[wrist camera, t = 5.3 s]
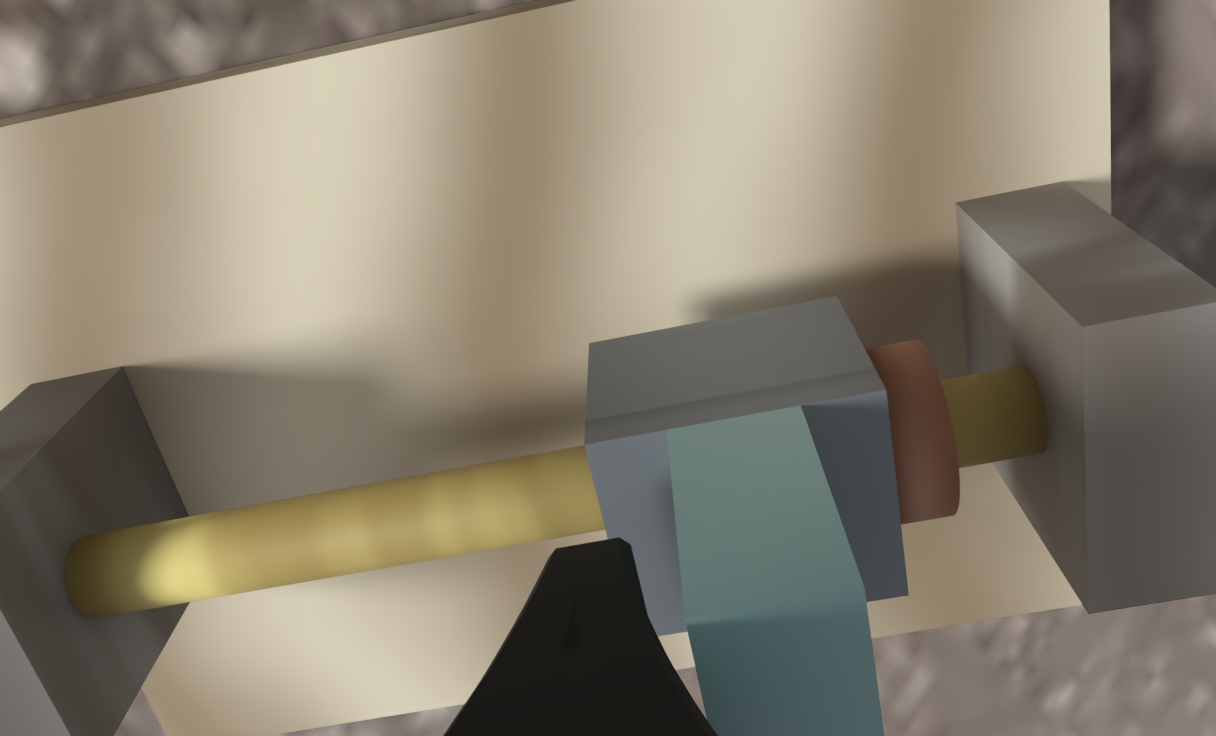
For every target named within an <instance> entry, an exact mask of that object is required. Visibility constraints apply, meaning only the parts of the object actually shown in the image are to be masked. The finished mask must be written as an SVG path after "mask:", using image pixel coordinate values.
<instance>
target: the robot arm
mask: <svg viewBox="0 0 1216 736" xmlns="http://www.w3.org/2000/svg"><path fill="white" fill-rule="evenodd" d="M443 736H718V735H717V734H716V732H715V731H714V730H713V728H712V727H711V725H710V724H709V723H708V721H707V720H706V718H705V717H704V715H703V714H702V712H701V711H700V709H699V708H698V706H697V705H696V703H695V702H694V700H693V698H692V697H691V695H690V693H689V692H688V690H687V689H686V687H685V685H684V684H683V682H682V680H681V679H680V677H679V675H678V674H677V672H676V670H675V668H674V667H673V665H672V663H671V661H670V659H669V658H668V656H667V654H666V652H665V650H664V648H663V646H662V644H661V642H660V640H659V638H658V636H657V634H656V632H655V630H654V628H653V626H652V624H651V622H650V619H649V617H648V614H647V610H646V606H645V601H644V597H643V593H642V589H641V585H640V581H639V577H638V572H637V568H636V564H635V560H634V556H633V552H632V547H631V544H629V543H628V542H626V541H624V540H623V539H621V538H620V537H618V538H612V539H607V540H601V541H595V542H589V543H584V544H578V545H572V546H566V547H561V548H556V549H555V550H554V551H553V553H552V554H551V555H550V557H549V558H548V560H547V562H546V564H545V566H544V568H543V570H542V572H541V574H540V576H539V578H538V580H537V582H536V584H535V586H534V588H533V589H532V591H531V593H530V595H529V597H528V599H527V601H526V603H525V605H524V607H523V608H522V610H521V612H520V614H519V616H518V618H517V619H516V621H515V623H514V625H513V627H512V629H511V630H510V632H509V634H508V635H507V637H506V639H505V640H504V642H503V644H502V646H501V647H500V649H499V651H498V652H497V654H496V656H495V657H494V659H493V661H492V662H491V664H490V666H489V668H488V669H487V671H486V673H485V674H484V676H483V677H482V679H481V681H480V682H479V684H478V685H477V687H476V688H475V690H474V691H473V693H472V694H471V696H470V697H469V699H468V700H467V702H466V703H465V705H464V706H463V707H462V709H461V710H460V712H459V713H458V715H457V716H456V718H455V719H454V721H453V722H452V724H451V725H450V727H449V728H448V730H447V731H446V733H445V734H444V735H443Z"/></svg>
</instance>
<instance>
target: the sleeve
mask: <svg viewBox="0 0 1216 736" xmlns="http://www.w3.org/2000/svg"><path fill="white" fill-rule="evenodd" d="M584 446H585V450H586V454H587V458H588V462H589V466H590V470H591V474H592V478H593V482H594V486H595V490H596V494H597V498H598V502H599V506H600V510H601V514H602V518H603V522H604V526H605V530H606V534H607V538H608V539H612V538H618V537H620V538H621V539H623V540H624V541H626V542H628V543H629V544H631V547H632V552H633V556H634V560H635V564H636V568H637V572H638V577H639V581H640V585H641V589H642V593H643V597H644V601H645V606H646V610H647V614H648V617H649V619H650V622H651V624H652V626H653V628H654V630H655V632H656V634H657V636H664V635H670V634H676V633H682V632H688V636H689V640H690V645H691V649H692V654H693V658H694V663H695V667H696V672H697V676H698V681H699V685H700V690H701V694H702V699H703V703H704V708H705V712H706V717H707V721H708V723H709V724H710V725H711V727H712V728H713V730H714V731H715V732H716V734H717V735H718V736H884V731H883V724H882V716H881V708H880V701H879V693H878V686H877V678H876V670H875V663H874V655H873V647H872V640H871V632H870V624H869V617H868V609H867V602H871V601H878V600H884V599H890V598H896V597H902V596H908V595H909V592H908V583H907V574H906V565H905V556H904V547H903V538H902V529H901V519H900V510H899V501H898V492H897V483H896V474H895V465H894V456H893V447H892V437H891V428H890V419H889V410H888V401H887V392H886V388H885V387H884V385H883V383H882V381H881V379H880V377H879V375H878V373H877V371H876V369H875V367H874V365H873V364H872V362H871V360H870V358H869V356H868V354H867V352H866V350H865V348H864V346H863V344H862V343H861V341H860V339H859V337H858V335H857V333H856V331H855V329H854V327H853V325H852V323H851V322H850V320H849V318H848V316H847V314H846V312H845V310H844V308H843V306H842V304H841V302H840V301H839V299H838V297H837V296H834V297H829V298H823V299H818V300H813V301H808V302H802V303H797V304H792V305H787V306H781V307H776V308H771V309H766V310H760V311H755V312H750V313H745V314H739V315H734V316H729V317H724V318H718V319H713V320H708V321H703V322H697V323H692V324H687V325H682V326H676V327H671V328H666V329H661V330H655V331H650V332H645V333H640V334H634V335H629V336H624V337H619V338H613V339H608V340H603V341H598V342H592V343H589V355H588V376H587V396H586V417H585V437H584Z"/></svg>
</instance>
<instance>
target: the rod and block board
mask: <svg viewBox="0 0 1216 736" xmlns="http://www.w3.org/2000/svg"><path fill="white" fill-rule="evenodd" d="M834 296H837V297H838V299H839V301H840V302H841V304H842V306H843V308H844V310H845V312H846V314H847V316H848V318H849V320H850V322H851V323H852V325H853V327H854V329H855V331H856V333H857V335H858V337H859V339H860V341H861V343H862V344H863V346H864V348H865V350H866V352H867V354H868V356H869V358H870V360H871V362H872V364H873V365H874V367H875V369H876V371H877V373H878V375H879V377H880V379H881V381H882V383H883V385H884V387H885V388H886V392H887V401H888V410H889V419H890V428H891V437H892V447H893V456H894V465H895V474H896V483H897V492H898V501H899V510H900V519H901V529H902V538H903V547H904V556H905V565H906V574H907V583H908V592H909V595H908V596H902V597H896V598H890V599H884V600H878V601H871V602H867V609H868V617H869V624H870V632H871V638H878V637H884V636H890V635H896V634H902V633H909V632H915V631H921V630H927V629H934V628H940V627H946V626H952V625H958V624H965V623H971V622H977V621H983V620H989V619H996V618H1002V617H1008V616H1014V615H1021V614H1027V613H1033V612H1039V611H1045V610H1052V609H1058V608H1064V607H1070V606H1077V605H1083V606H1084V608H1085V609H1086V611H1087V612H1088V614H1091V613H1098V612H1104V611H1110V610H1116V609H1123V608H1129V607H1135V606H1141V605H1148V604H1154V603H1160V602H1166V601H1173V600H1179V599H1185V598H1191V597H1198V596H1204V595H1210V594H1216V288H1215V287H1214V286H1212V285H1211V284H1209V283H1208V282H1207V281H1205V280H1204V279H1202V278H1201V277H1199V276H1198V275H1197V274H1195V273H1194V272H1192V271H1191V270H1189V269H1188V268H1187V267H1185V266H1184V265H1182V264H1181V263H1179V262H1178V261H1177V260H1175V259H1174V258H1172V257H1171V256H1169V255H1168V254H1167V253H1165V252H1164V251H1162V250H1161V249H1159V248H1158V247H1157V246H1155V245H1154V244H1152V243H1151V242H1149V241H1148V240H1146V239H1145V238H1144V237H1142V236H1141V235H1139V234H1138V233H1136V232H1135V231H1134V230H1132V229H1131V228H1129V227H1128V226H1126V225H1125V224H1124V223H1122V222H1121V221H1119V220H1118V219H1116V218H1115V217H1114V216H1112V215H1111V121H1110V8H1109V0H537V1H532V2H528V3H523V4H519V5H514V6H510V7H505V8H501V9H496V10H492V11H487V12H482V13H478V14H473V15H469V16H464V17H460V18H455V19H451V20H446V21H442V22H437V23H433V24H428V25H424V26H419V27H415V28H410V29H406V30H401V31H397V32H392V33H388V34H383V35H379V36H374V37H369V38H365V39H360V40H356V41H351V42H347V43H342V44H338V45H333V46H329V47H324V48H320V49H315V50H311V51H306V52H302V53H297V54H293V55H288V56H284V57H279V58H275V59H270V60H266V61H261V62H257V63H252V64H247V65H243V66H238V67H234V68H229V69H225V70H220V71H216V72H211V73H207V74H202V75H198V76H193V77H189V78H184V79H180V80H175V81H171V82H166V83H162V84H157V85H153V86H148V87H144V88H139V89H134V90H130V91H125V92H121V93H116V94H112V95H107V96H103V97H98V98H94V99H89V100H85V101H80V102H76V103H71V104H67V105H62V106H58V107H53V108H49V109H44V110H40V111H35V112H31V113H26V114H21V115H17V116H12V117H8V118H3V119H0V736H114V734H115V732H116V730H117V729H118V727H119V725H120V723H121V722H122V720H123V718H124V716H125V715H126V713H127V711H128V709H129V708H130V706H131V704H132V702H133V701H134V699H135V697H136V696H137V694H138V692H139V690H140V689H141V688H142V690H143V692H144V694H145V695H146V697H147V699H148V701H149V703H150V705H151V707H152V709H153V711H154V713H155V715H156V717H157V719H158V721H159V723H160V725H161V727H162V729H163V731H164V733H165V735H166V736H268V735H274V734H281V733H287V732H293V731H299V730H305V729H312V728H318V727H324V726H330V725H337V724H343V723H349V722H355V721H361V720H368V719H374V718H380V717H386V716H392V715H399V714H405V713H411V712H417V711H424V710H430V709H436V708H442V707H448V706H455V705H461V704H465V703H466V702H467V700H468V699H469V697H470V696H471V694H472V693H473V691H474V690H475V688H476V687H477V685H478V684H479V682H480V681H481V679H482V677H483V676H484V674H485V673H486V671H487V669H488V668H489V666H490V664H491V662H492V661H493V659H494V657H495V656H496V654H497V652H498V651H499V649H500V647H501V646H502V644H503V642H504V640H505V639H506V637H507V635H508V634H509V632H510V630H511V629H512V627H513V625H514V623H515V621H516V619H517V618H518V616H519V614H520V612H521V610H522V608H523V607H524V605H525V603H526V601H527V599H528V597H529V595H530V593H531V591H532V589H533V588H534V586H535V584H536V582H537V580H538V578H539V576H540V574H541V572H542V570H543V568H544V566H545V564H546V562H547V560H548V558H549V557H550V555H551V554H552V553H553V551H554V550H555V549H556V548H561V547H566V546H572V545H578V544H584V543H589V542H595V541H601V540H607V539H608V538H607V534H606V530H605V526H604V522H603V518H602V514H601V510H600V506H599V502H598V498H597V494H596V490H595V486H594V482H593V478H592V474H591V470H590V466H589V462H588V458H587V454H586V450H585V446H584V437H585V417H586V396H587V376H588V355H589V343H592V342H598V341H603V340H608V339H613V338H619V337H624V336H629V335H634V334H640V333H645V332H650V331H655V330H661V329H666V328H671V327H676V326H682V325H687V324H692V323H697V322H703V321H708V320H713V319H718V318H724V317H729V316H734V315H739V314H745V313H750V312H755V311H760V310H766V309H771V308H776V307H781V306H787V305H792V304H797V303H802V302H808V301H813V300H818V299H823V298H829V297H834ZM658 638H659V640H660V642H661V644H662V646H663V648H664V650H665V652H666V654H667V656H668V658H669V659H670V661H671V663H672V665H673V667H674V668H675V670H679V669H685V668H691V667H695V663H694V658H693V654H692V649H691V645H690V640H689V636H688V632H682V633H676V634H670V635H664V636H658Z"/></svg>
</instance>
